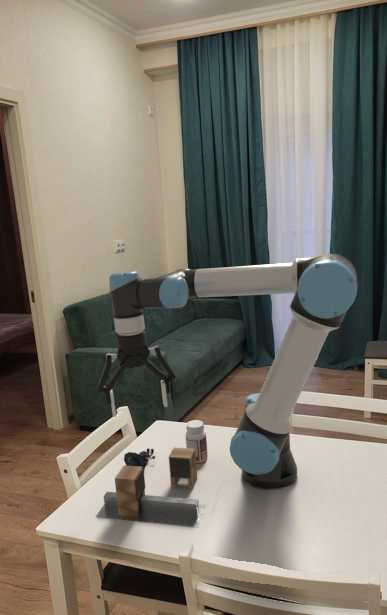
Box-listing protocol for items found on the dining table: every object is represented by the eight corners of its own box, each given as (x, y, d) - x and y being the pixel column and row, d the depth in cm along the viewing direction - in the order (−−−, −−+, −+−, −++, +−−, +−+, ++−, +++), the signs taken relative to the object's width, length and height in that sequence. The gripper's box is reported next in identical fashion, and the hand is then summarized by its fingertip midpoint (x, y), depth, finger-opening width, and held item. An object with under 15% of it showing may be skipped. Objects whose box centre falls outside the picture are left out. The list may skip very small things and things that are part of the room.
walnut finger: (176, 480, 134) (173, 447, 132) (197, 482, 133) (195, 448, 131) (171, 491, 129) (168, 457, 127) (192, 493, 128) (190, 458, 126)
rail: (206, 507, 121) (205, 491, 120) (198, 531, 113) (197, 513, 112) (110, 499, 128) (108, 483, 127) (95, 520, 119) (93, 504, 118)
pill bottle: (204, 452, 149) (202, 417, 147) (209, 461, 143) (207, 426, 141) (185, 455, 148) (182, 420, 146) (189, 465, 142) (186, 429, 140)
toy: (163, 443, 150) (143, 454, 136) (162, 467, 150) (143, 480, 135) (138, 441, 153) (117, 452, 138) (137, 464, 152) (116, 477, 138)
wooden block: (147, 502, 123) (144, 466, 121) (139, 517, 118) (135, 479, 116) (127, 500, 125) (123, 465, 123) (118, 515, 119) (114, 478, 117)
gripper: (175, 322, 130) (182, 396, 134) (80, 336, 124) (91, 413, 128) (181, 327, 123) (189, 406, 127) (81, 342, 117) (93, 424, 121)
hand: (140, 410), depth 128 cm, fingers open, 13 cm apart
